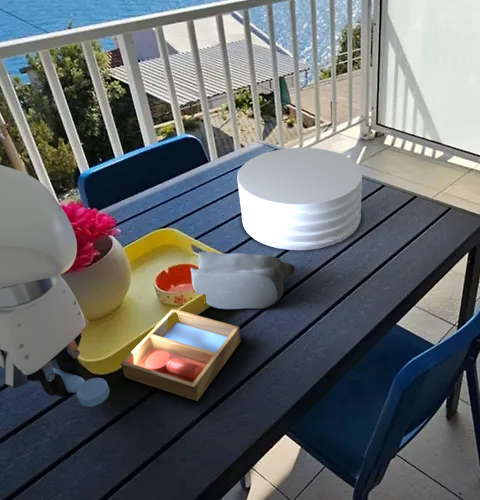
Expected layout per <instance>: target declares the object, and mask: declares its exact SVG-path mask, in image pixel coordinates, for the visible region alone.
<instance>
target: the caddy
mask: <svg viewBox="0 0 480 500" xmlns="http://www.w3.org/2000/svg"><path fill="white" fill-rule="evenodd" d="M174 312H176V313H177V315H178V318H179V321H180V322H177V321H176V322H175V323H174V324H173V325H172V326H171V327H170V328H169V329H168V327H167V326H168V325H167V322H168V317H169V316H170V315H172V314H173V313H174ZM167 329H168V330H167ZM241 342H242V335H241V329H240V326H238V325H233V324H229V323H227V322H223V321H220V320H219V321H218V320H215V319H213V318H208V317H205V316H201V315H197V314H194V313H191V312H187V311H182V310H179V309H175V308H171V310H170V311H169V312H168V313H167V314H166V315H165V316H164V317H163V318H162V319H161V320H160V321H159V322H158V323H157V324H156V325H155V326H154V328H153V329H152V330H151V331H150V332H148V334H147V335H146V336H145V337H144V338H143V339H142V340H141V341H140V342H139V343H138V344H137V345H136V346H135V347H134V349H132V351H130V353H129V354H128V355H127V356H126V357H125V358H124V359H123V360H122V361H121V362H120V367H121V369H122V371H123V374H124V377H125V378H127V379H128V380H132V381H134V382H138V383H141V384H144V385H146V386H149V387H150V386H151V387H153V388H156V389H158V390H159V389H160V390H163V391H166V392H168V393H171V394H175V395H177V396H181V397H184V398H187V399H190V400H193V401H196V402H198V401H199V400H200V398H201V397H202V396H203V394H204V393H205V392H206V390H207V389H208V387H209V386H210V385H211V383H212V382H213V381H214V379H215V378H216V377H217V375H218V373H219V372H220V371H221V370H222V368H223V367H224V366H225V364H226V363H227V361H228V360H229V358H230V357H231V356H232V355H233V353H234V351H236V349H237V348H238V346H239V345H240V343H241ZM157 351H166V352H168V353H169V354H170V356H171V359H172V358H176V359H179V360H183V361H186V362H189V363H193V364H196V365H199V366H202V367H203V368H204V369H203V371H202V372H201V373H200V374H199V376H198V377H197V378H196V380H194V379H191V378H188V377H185V376H181V375H178V374H175V373H172V372H169V371H166V372H164V373H159V372H156V371H153V370H150V369H147V366H146V359H147V358H148V356H149V355H151V354H152V353H154V352H157Z"/></svg>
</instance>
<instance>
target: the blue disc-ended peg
mask: <svg viewBox="0 0 480 500" xmlns="http://www.w3.org/2000/svg"><path fill="white" fill-rule="evenodd" d="M52 368H53V370H54V373H56V374H59V375H60V376H61V377H62V379H63V382H64V384H65V386H66V389H67V391H68V392H69V393H73V394H76V398H77V400H78V402H79V403H80V405H82V406H83V407H86V408H87V407H89V408H91V407H96V406H98V405H100V404H102V403H103V402H105V401H106V400H107V399H108V397H109V396H110V387H109V385H108V382H107V380H106V379H105V378H101V377H94V378H93V377H92V378H90V379H87V380H85V379H83V378H82V377H79V376H76V375H73V374H70V373H67V372H64V371H61V370H60V369H58V368H55V367H52Z"/></svg>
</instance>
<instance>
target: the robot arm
mask: <svg viewBox="0 0 480 500" xmlns="http://www.w3.org/2000/svg"><path fill="white" fill-rule="evenodd" d="M56 199H57V198H55V197H54V195H53V194H52V193H51V191H50V190H49V188H48V187H46V185H45V184H43V183H42V181H40V180H38V179H37V178H35V177H33V176H32V175H30V174H28V173H26V172H23V171H21V170H18V169H15V168H12V167H8V166H6V165H2V164H0V367H1V368H3V369H5V385H6V386H8V387H11V388H14V389H17V388H19V387H21V386H24V385H26V384H28V383H29V382H39V383H40V385H41V387H42V388H43V391H44V392H45V393H46V394H47V395H48V396H52V397H54V396H58V397H61V398H63V399H66V398H67V397H68V396H69V393H70V392H69V391H67V389H66V386H65V384H64V382H63V379H62V377H61V376H60V375H59V374H56V373H54V370H53V368H54V367H53V366H52V364H51V360H52V359H53V358H55V362H56V364H57V366H58V368H59V370H61V371H64V372H67V373H70V374H73V375H76V376H79V377H82V378H83V379H84V380H85V376H84V374H83V372H82V370H83V368H82V365H81V363H80V361H79V359H78V358H79V356H80V354H81V353H80V352H81V351H80V349H79V346H80V343H81V341H82V335H84V332H85V331H86V330H87V328H88V326H89V324H90V320H88V319H87V318H86V317H85V316H84V313H83V311H82V309H81V306H80V304H79V302H78V300H77V298H76V296H75V294H74V292H73V291H72V289H71V288H70V286H69V284H68V283H67V282H66V281H65V280H64V278H63V277H62V276H61V275H63V274H64V273H66V272H67V271H68V270H70V268H72V266H73V265H74V263H75V261H76V258H77V253H78V244H77V243H78V242H77V238H76V233H75V231H74V228H73V225H72V223H71V221H70V219H69V217H68V215H67V214H66V212H65V211H64V209H63V207H62V206H61V204H60V203H59V202H58V201H57V200H56Z"/></svg>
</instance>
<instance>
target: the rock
mask: <svg viewBox="0 0 480 500" xmlns="http://www.w3.org/2000/svg"><path fill="white" fill-rule="evenodd" d="M197 262H198V268H195V267H193V266H192V267H190V273H191V284H192V288H193V290H194V292H195V294H196V295H197V296H198V297H199V295H201V294H205V295H206V303H207V304H206V303H205V304H206V305H208V306H210V307H213V308H216V309H222V310H238V309H239V310H241V309H267V308H269V307H271V306H272V305H274V304H276V303H277V302H278V301H279V300H280V299H281V298H282V296H283V295H284V292H285V288H284V285H285V284H286V283H287V281H288V279H290V276H293V274H294V273H295V271H296V267H295V265H294V264H293V263H289V262H284V261H282V259H280V258H279V257H276V256H271V255H264V254H248V253H243V252H233V253H226V252H225V253H224V252H219V253H218V252H212V251H205V250H204V251H200V252H198V255H197Z"/></svg>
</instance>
